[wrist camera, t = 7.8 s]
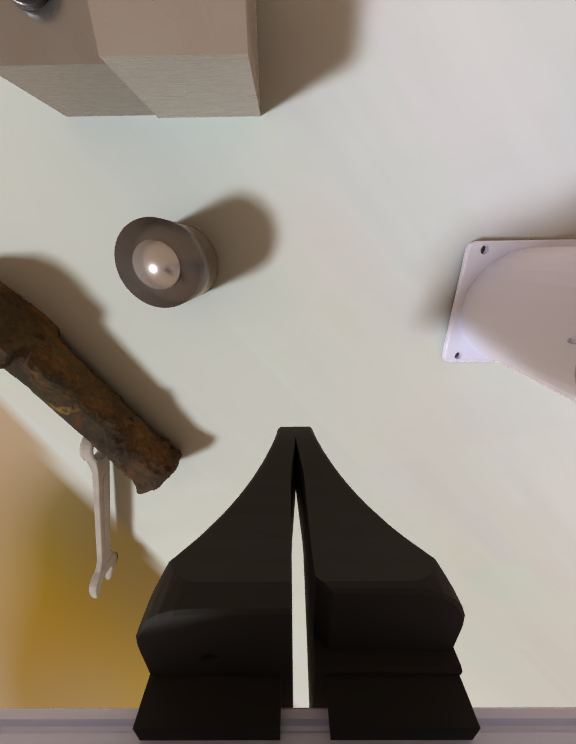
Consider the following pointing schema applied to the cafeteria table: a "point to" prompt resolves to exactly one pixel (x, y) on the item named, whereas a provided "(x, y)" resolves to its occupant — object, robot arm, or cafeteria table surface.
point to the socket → (165, 261)
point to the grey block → (183, 54)
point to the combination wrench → (100, 515)
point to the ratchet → (61, 59)
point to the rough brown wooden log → (79, 394)
